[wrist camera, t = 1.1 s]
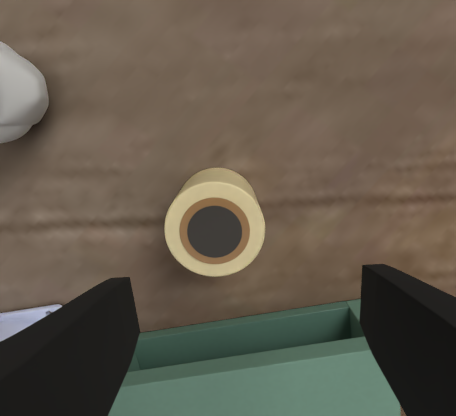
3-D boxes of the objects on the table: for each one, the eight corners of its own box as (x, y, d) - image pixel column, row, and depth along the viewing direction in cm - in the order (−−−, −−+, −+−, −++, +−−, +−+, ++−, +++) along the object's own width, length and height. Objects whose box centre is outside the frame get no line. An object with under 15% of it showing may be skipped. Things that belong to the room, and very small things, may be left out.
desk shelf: (153, 446, 26) (137, 520, 21) (118, 336, 23) (90, 392, 18) (369, 416, 26) (403, 485, 21) (361, 298, 23) (398, 346, 18)
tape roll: (186, 249, 22) (175, 285, 17) (169, 175, 20) (152, 191, 15) (261, 236, 21) (272, 270, 17) (250, 160, 20) (257, 173, 15)
